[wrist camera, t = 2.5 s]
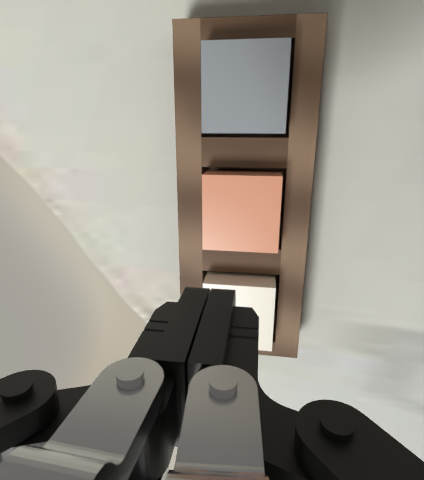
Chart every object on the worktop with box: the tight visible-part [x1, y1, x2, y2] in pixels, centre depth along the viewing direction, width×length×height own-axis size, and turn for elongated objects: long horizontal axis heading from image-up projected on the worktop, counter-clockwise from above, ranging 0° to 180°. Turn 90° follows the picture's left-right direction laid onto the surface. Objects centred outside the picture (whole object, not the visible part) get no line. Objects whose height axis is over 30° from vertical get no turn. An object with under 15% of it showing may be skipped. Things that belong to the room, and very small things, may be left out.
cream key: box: [203, 271, 276, 351], centre depth 26 cm, size 5×5×2 cm
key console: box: [172, 13, 328, 358], centre depth 26 cm, size 23×9×3 cm, turn 0°
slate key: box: [201, 38, 291, 134], centre depth 21 cm, size 5×5×2 cm
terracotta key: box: [202, 170, 283, 253], centre depth 24 cm, size 5×5×2 cm
